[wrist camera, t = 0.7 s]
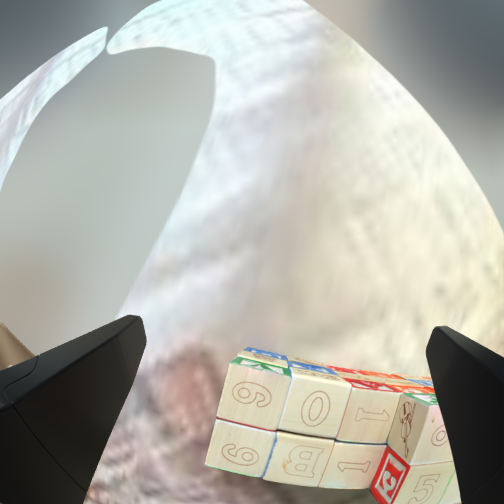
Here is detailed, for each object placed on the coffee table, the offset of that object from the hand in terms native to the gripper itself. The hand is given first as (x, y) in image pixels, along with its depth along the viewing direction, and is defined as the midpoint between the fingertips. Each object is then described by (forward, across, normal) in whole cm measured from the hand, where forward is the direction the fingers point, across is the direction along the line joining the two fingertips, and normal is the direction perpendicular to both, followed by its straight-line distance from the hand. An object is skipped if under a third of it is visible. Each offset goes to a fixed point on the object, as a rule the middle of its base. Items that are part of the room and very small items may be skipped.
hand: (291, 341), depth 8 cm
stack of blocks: (+9, -7, +14) cm, 18 cm away
